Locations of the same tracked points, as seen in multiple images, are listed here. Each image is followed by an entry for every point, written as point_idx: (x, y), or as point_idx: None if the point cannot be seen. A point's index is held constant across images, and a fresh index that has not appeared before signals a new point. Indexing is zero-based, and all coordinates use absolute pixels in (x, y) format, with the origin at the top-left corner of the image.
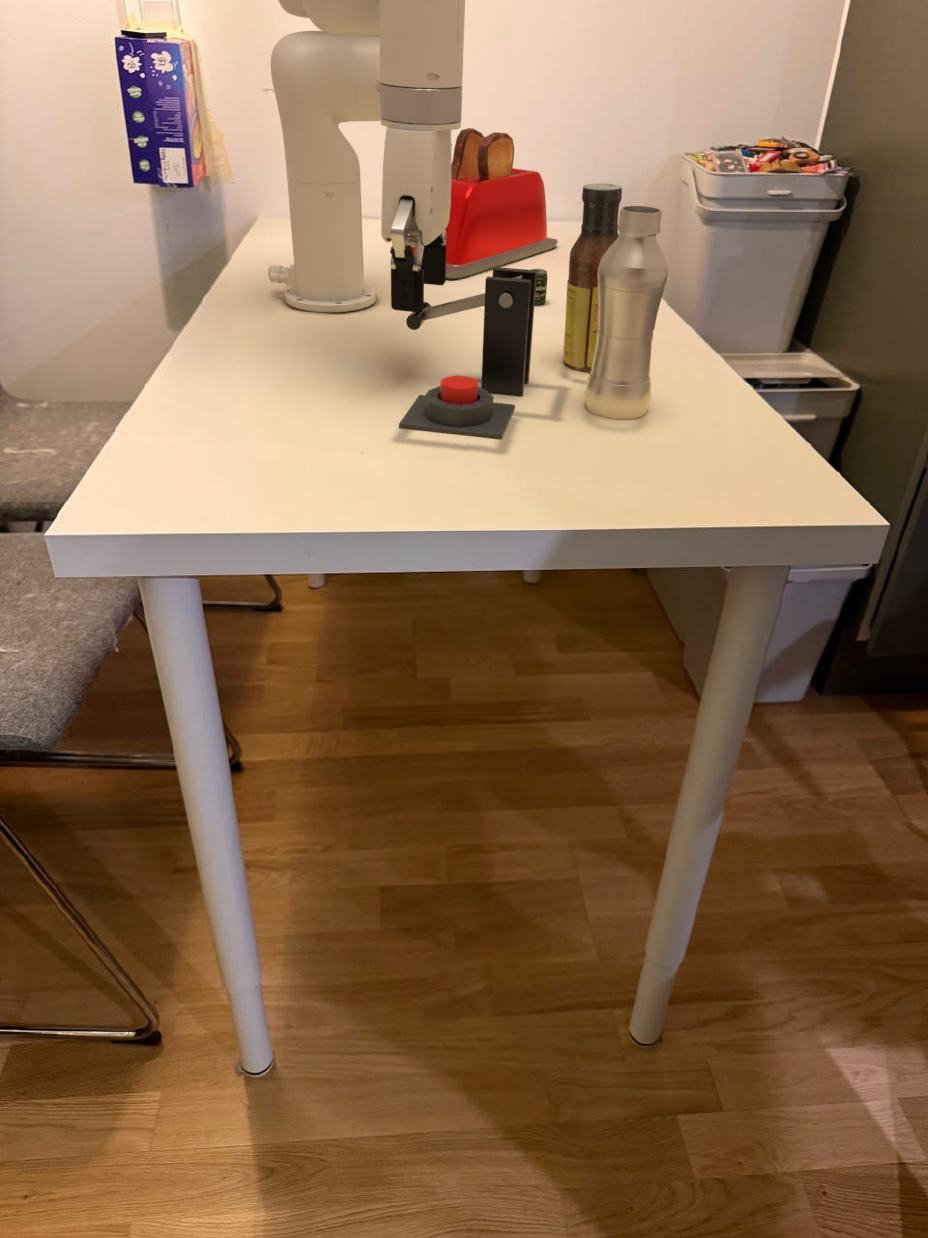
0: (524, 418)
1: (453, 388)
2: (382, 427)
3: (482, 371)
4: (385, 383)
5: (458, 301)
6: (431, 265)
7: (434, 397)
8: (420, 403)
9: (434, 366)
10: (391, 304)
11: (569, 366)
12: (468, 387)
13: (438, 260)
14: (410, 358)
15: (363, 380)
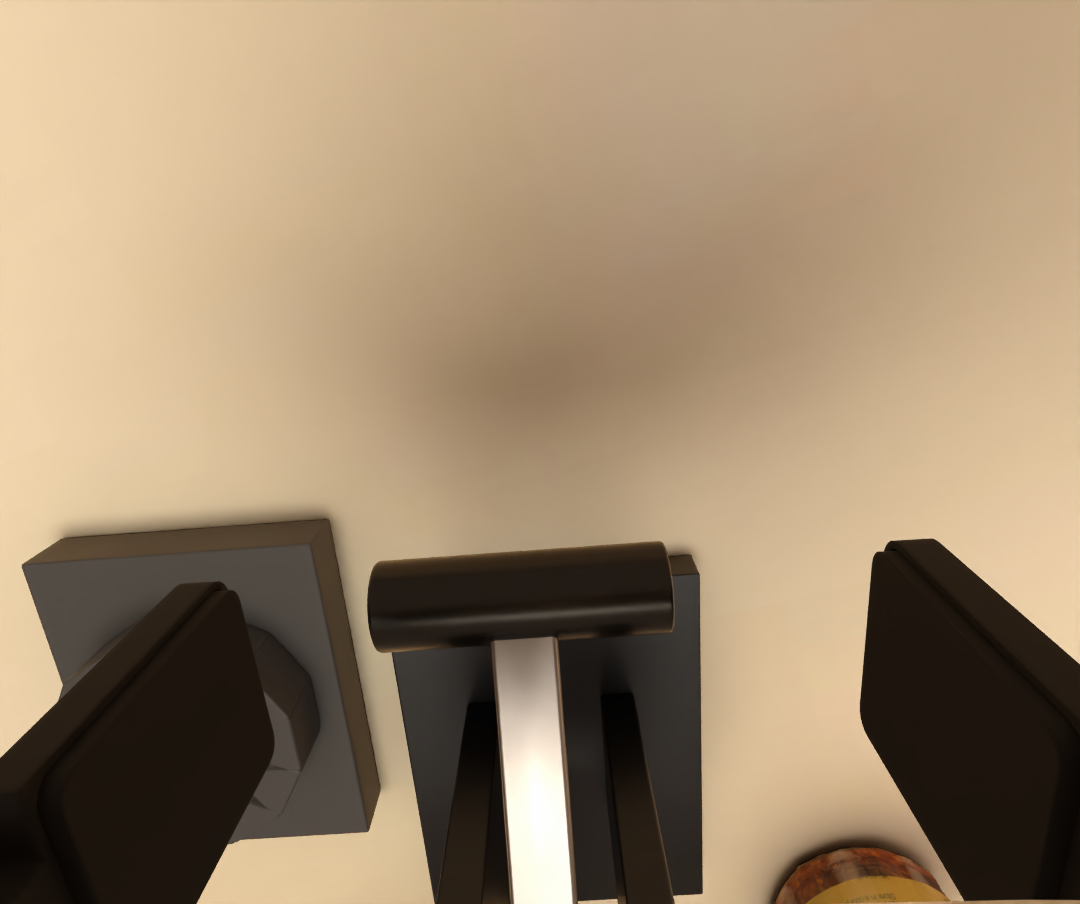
0: (411, 810)
1: None
2: (128, 451)
3: (459, 761)
4: (542, 304)
5: (520, 878)
6: (929, 743)
7: None
8: (226, 574)
9: (803, 427)
10: (173, 592)
11: (813, 892)
12: None
13: (952, 832)
14: (882, 297)
15: (542, 198)
